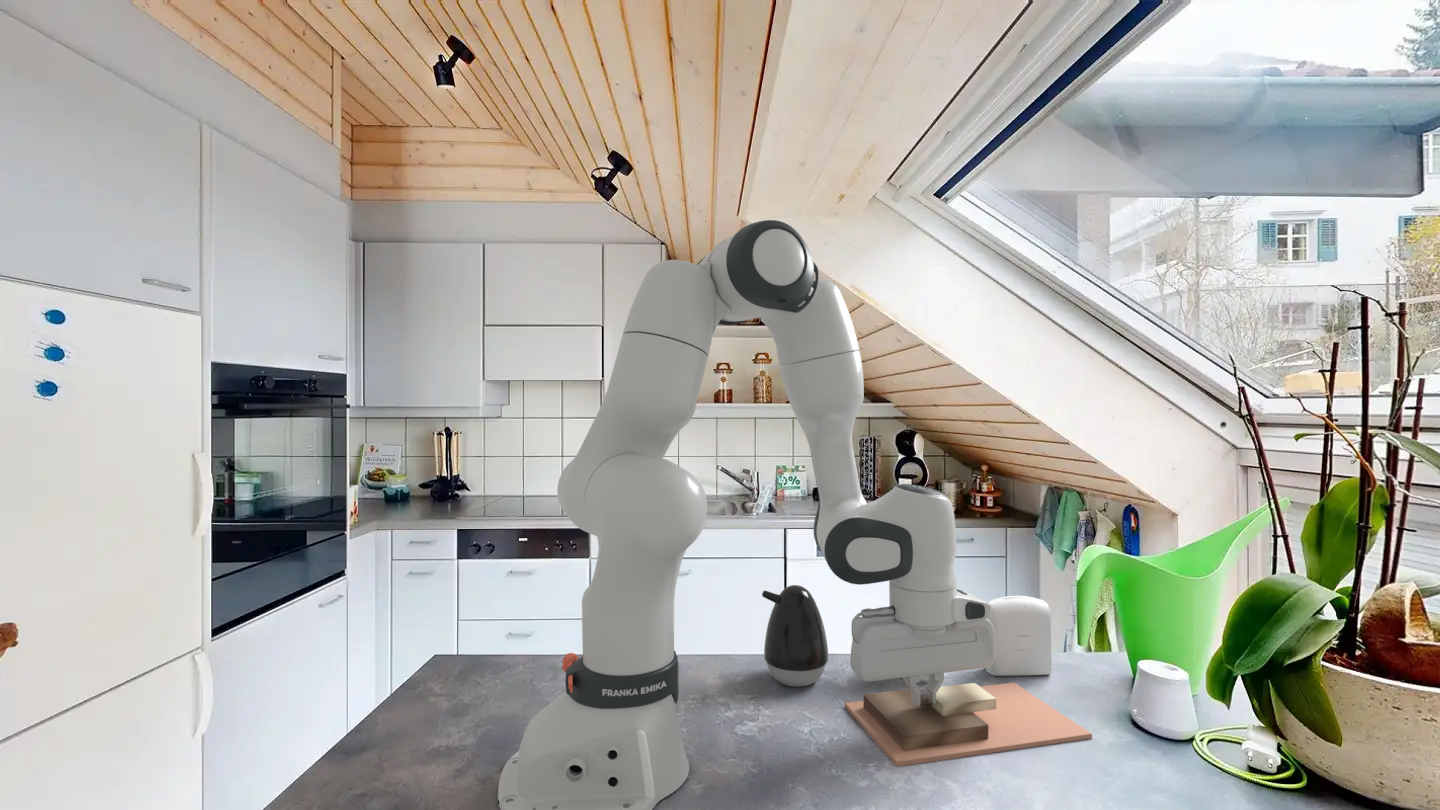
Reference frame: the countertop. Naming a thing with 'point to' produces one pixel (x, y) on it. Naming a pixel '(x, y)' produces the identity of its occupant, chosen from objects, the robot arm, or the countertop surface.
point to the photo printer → (1021, 636)
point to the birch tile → (963, 699)
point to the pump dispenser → (795, 638)
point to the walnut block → (921, 722)
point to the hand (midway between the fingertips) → (923, 703)
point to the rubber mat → (1008, 728)
